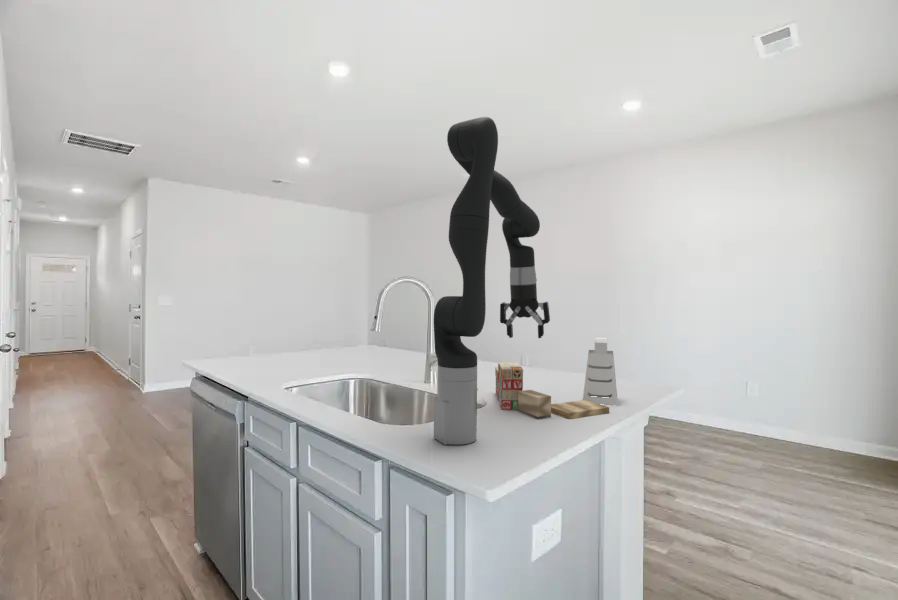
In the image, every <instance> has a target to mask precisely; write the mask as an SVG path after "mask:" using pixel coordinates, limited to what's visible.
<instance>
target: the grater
mask: <svg viewBox="0 0 898 600" xmlns="http://www.w3.org/2000/svg"><path fill="white" fill-rule="evenodd" d="M587 352H588V354H587V362H586V370H585V379H584V387H583V388H584V389H583V394H582V400H586V401H590V402H593V403H596V404H604V405H603V406H607V405H616V406H615V407H619V401H618V400H619V399H618V389H617V378H616V368H615V359H614V358H615V357H614V351H613V350H608V337H600V336H599V337H596V336H595V337H594V349H589V350H588V351H587ZM591 396H597V397H591ZM602 397H609V398H602Z"/></svg>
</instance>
